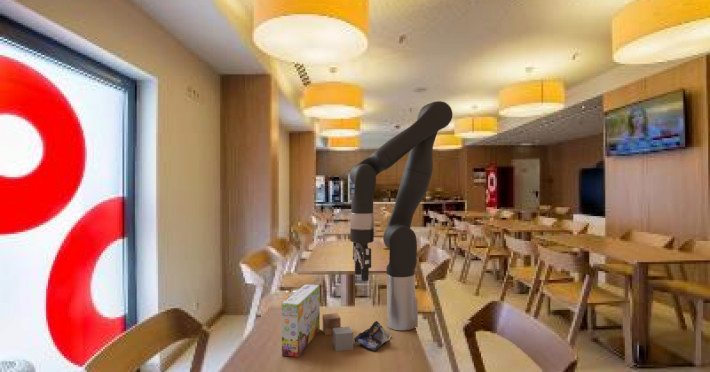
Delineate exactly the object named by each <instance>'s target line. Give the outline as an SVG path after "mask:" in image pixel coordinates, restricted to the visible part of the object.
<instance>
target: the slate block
mask: <svg viewBox="0 0 710 372" xmlns="http://www.w3.org/2000/svg"><path fill="white" fill-rule="evenodd" d="M332 345H333V348H334V350H335V352H342V351H343V352H344V351H350V350H354V332H353V330H352V328H351V327H350V326H341V327H339V328H333V334H332Z"/></svg>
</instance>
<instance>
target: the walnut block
mask: <svg viewBox="0 0 710 372" xmlns="http://www.w3.org/2000/svg"><path fill="white" fill-rule="evenodd" d="M321 317H322V318H321V319H322V321H321V322H322V332H323V333H324V335H325V336H328V335H333V328H339V327H342V326H341V325H342V324H341V316H340V314H339V312H335V313H334V312H333V313H325V314H323V313H322V314H321Z"/></svg>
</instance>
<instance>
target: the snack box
mask: <svg viewBox="0 0 710 372" xmlns="http://www.w3.org/2000/svg"><path fill="white" fill-rule="evenodd" d="M320 288H321V287H320V284H304V285H303V286H301V287H300V288H299V289H298V290H296V291H295V292H293V294H292V295H290V296H289V297H288V298H287V299H286V300H284V301H283V302H282V303H281V356H287V357H292V358H293V357H294V358H299V356H300V355H301V354H302V352H303V351H304V350H305V349H306V348H307V346H308V345H309V344H310V343H311V341H312V340H313V339H314V338H315V337H316V335H317V334H318V333H319V332H320V331H321V328H320V324H321V323H320V315H321V313H320V302H321V301H320V295H321V294H320V292H321V291H320Z"/></svg>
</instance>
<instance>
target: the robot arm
mask: <svg viewBox="0 0 710 372" xmlns="http://www.w3.org/2000/svg"><path fill="white" fill-rule="evenodd" d="M453 115H454V114H453V109H452V107H451V106H450V105H449V103H447V102H445V101H441V100H440V101H439V100H438V101H431V102H430V103H426V104H425V105H423V106H422V107H421V109H420V110H419V112H418V114H417V118H416V121H414V123H412V124H411V125H409V127H407V128H406V129H404V130H402V131H401V132H400V133H397V134H396V135H395V136H393V137H391V138H390V139H388V141H386V142H385V143H384V144H382V145H381V146H380V147H378V148H377V149H376V150H375V151H374V152H373V153H372V154H370V155H369V156H367V157H366V158H364V159H363V160H361V161H360V162H358V163H356V165H354V166H353V167H352V169H351V170H350V173H349V178H350V181H351V183H352V184H353V185H354V191H353V196H352V197H351V207H350V208H351V209H350V211H351V213H350V220H349V221H350V223H349V224H350V227H349V229H350V230H349V231H350V233H349V234H350V235H349V241H350V242H352V246H353V247H352V260H353V263H354V274H355V275H356V276H357V275H359V276H360V275H361V277H360V280H361V281H362V282H368V281H369V276H370V275H369V273H370V272H369V270H370V269H371V268H372V248H371V247H369V245H368V244H369V243H370V244H371V243H373V242H374V241H375V239H374V236H375V232H374V231H375V217H374V197H375V192H376V186H377V176H378V175H379V174H380V173H382V172H383V171H386V170H388V169H390V168H391V167H392V166H394V165H395V164H396V163H398V161H400V160H401V159H402V158H403V157H404V156H405V155H407V154H408V156H407V159H406V163H405V165H404V169H403V173H402V175H401V179H400V184H399V187H398V191H397V194H396V198H395V202H394V206H393V208H392V209H393V210H392V213H391V216H390V217H389V220H388V222H387V224H386V227H385V229H384V233H383V238H382V239H383V243H384V245H385V247H386V248H387V249H388V250H389V258H388V259H389V261H388V264H387V265H386V269H385V271H386V314H387V315H386V318H387V319H386V320H387V323H386V324H387V327H388V328H389V329H391V330H394V331H410V330H413V329H415V328H418V327H419V323H418V320H419V317H418V316H419V315H418V314H419V312H418V308H419V307H418V297H416V277H415V276H416V275H415V274H416V272H415V271H416V267H417V261H418V241H417V240H418V238H417V235H416V233H415V231H414V230H413V229H412V228H411V225H412V221H413V217H414V214H415V212H416V211H417V209H418V207H419V205H420V204H421V203H422V200H423V199H424V197H425V195H426V194H427V192H428V189H429V186H430V183H431V180H432V175H433V170H434V169H433V168H434V165H433V164H434V161H433V159H434V158H433V149H434V144H435V141H436V138H437V135H438V132H439V131H441V130H442V129H445V128H446V127H448V126H449V125H450V124H451V122H452V119H453Z"/></svg>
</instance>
